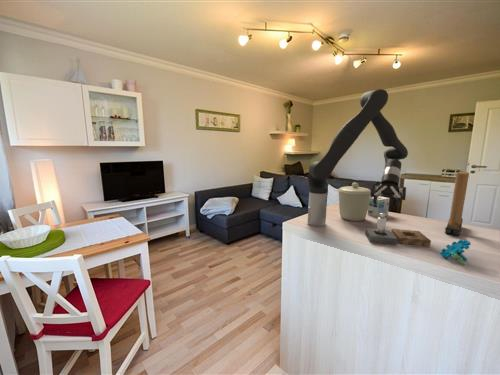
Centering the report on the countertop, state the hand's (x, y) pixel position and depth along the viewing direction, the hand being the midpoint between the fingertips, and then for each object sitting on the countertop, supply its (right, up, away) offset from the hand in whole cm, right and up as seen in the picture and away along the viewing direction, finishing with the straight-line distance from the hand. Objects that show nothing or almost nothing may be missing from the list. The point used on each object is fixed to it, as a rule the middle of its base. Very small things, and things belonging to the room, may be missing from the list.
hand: (385, 204), depth 104 cm
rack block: (+7, -15, -6) cm, 18 cm away
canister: (-4, -10, +25) cm, 27 cm away
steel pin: (-5, -15, -5) cm, 17 cm away
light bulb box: (+15, -9, +32) cm, 36 cm away
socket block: (-5, -15, -5) cm, 17 cm away
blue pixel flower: (+12, -19, -22) cm, 31 cm away
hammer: (+37, -14, +6) cm, 40 cm away
